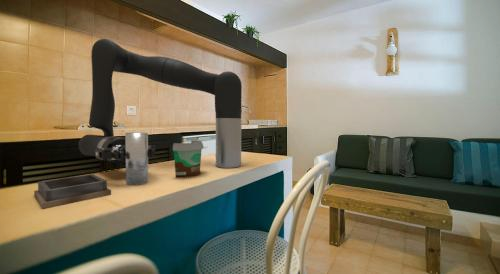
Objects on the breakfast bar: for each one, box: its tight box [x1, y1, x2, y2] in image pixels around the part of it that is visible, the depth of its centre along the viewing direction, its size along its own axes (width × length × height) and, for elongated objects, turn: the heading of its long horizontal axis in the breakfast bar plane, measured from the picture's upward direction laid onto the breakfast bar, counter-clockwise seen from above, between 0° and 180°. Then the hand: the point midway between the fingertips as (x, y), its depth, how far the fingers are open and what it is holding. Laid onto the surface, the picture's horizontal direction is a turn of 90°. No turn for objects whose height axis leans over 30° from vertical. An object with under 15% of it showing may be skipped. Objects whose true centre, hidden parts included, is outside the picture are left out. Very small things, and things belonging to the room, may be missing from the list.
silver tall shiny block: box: [124, 131, 149, 186], centre depth 59 cm, size 5×5×13 cm
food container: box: [172, 139, 205, 179], centre depth 69 cm, size 12×6×10 cm, turn 168°
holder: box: [33, 173, 112, 210], centre depth 50 cm, size 11×11×3 cm
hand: (138, 154), depth 59 cm, fingers open, 7 cm apart
